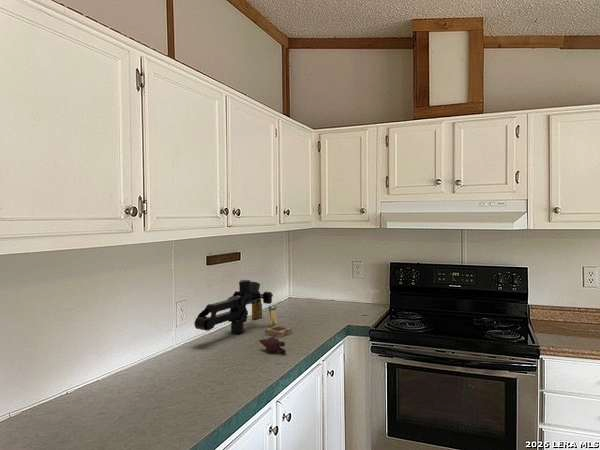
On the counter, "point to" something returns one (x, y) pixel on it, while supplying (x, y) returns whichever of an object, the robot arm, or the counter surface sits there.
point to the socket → (278, 331)
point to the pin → (272, 316)
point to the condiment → (256, 311)
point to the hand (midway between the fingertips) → (266, 294)
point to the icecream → (273, 345)
